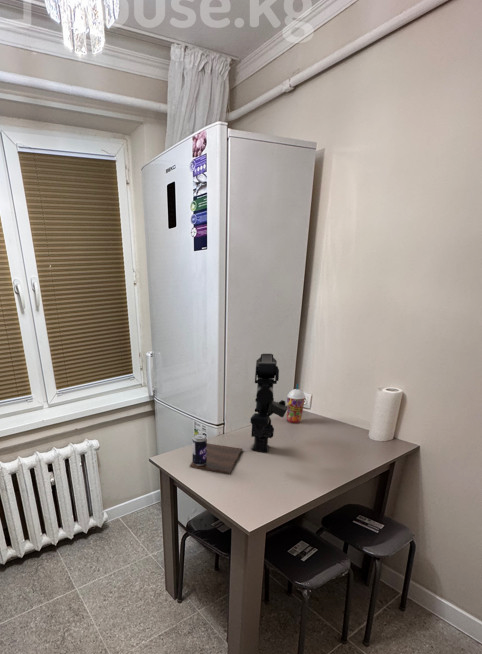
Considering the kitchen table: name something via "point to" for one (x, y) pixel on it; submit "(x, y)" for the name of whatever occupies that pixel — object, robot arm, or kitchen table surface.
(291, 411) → the smoothie
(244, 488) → the kitchen table surface
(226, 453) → the board
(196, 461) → the beverage can
